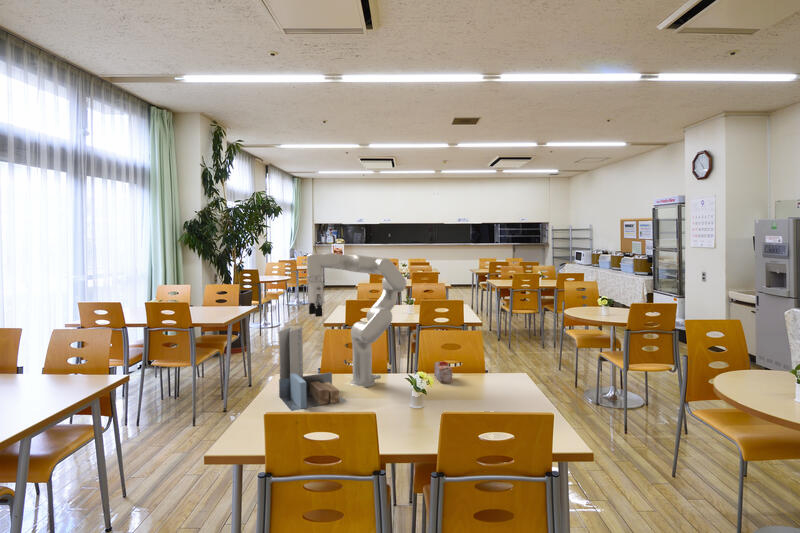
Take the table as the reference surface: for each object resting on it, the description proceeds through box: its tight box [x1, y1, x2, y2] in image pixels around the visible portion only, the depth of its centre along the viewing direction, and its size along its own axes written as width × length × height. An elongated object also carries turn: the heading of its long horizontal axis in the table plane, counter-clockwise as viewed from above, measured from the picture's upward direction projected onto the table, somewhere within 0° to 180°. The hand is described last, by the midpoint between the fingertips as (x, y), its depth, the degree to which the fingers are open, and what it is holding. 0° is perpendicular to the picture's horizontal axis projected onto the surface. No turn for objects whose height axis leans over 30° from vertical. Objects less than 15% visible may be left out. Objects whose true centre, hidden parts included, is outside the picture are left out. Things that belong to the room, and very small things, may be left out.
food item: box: [434, 361, 453, 383], centre depth 245 cm, size 14×8×10 cm, turn 11°
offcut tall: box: [310, 382, 329, 404], centre depth 213 cm, size 4×14×6 cm, turn 28°
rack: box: [278, 372, 348, 412], centre depth 213 cm, size 25×21×9 cm
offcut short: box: [321, 382, 340, 403], centre depth 215 cm, size 4×14×5 cm, turn 28°
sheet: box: [290, 373, 308, 409], centre depth 209 cm, size 2×16×11 cm, turn 28°
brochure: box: [278, 326, 304, 379], centre depth 229 cm, size 14×6×30 cm, turn 168°
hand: (315, 315), depth 227 cm, fingers open, 9 cm apart
